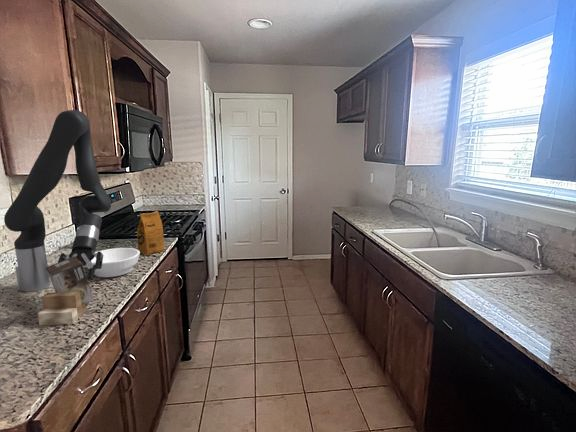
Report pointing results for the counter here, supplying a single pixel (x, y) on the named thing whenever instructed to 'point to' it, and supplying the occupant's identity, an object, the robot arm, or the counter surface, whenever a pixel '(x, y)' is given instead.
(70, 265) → the coffee box
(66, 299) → the block
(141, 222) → the coffee package
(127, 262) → the bowl
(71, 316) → the batten
